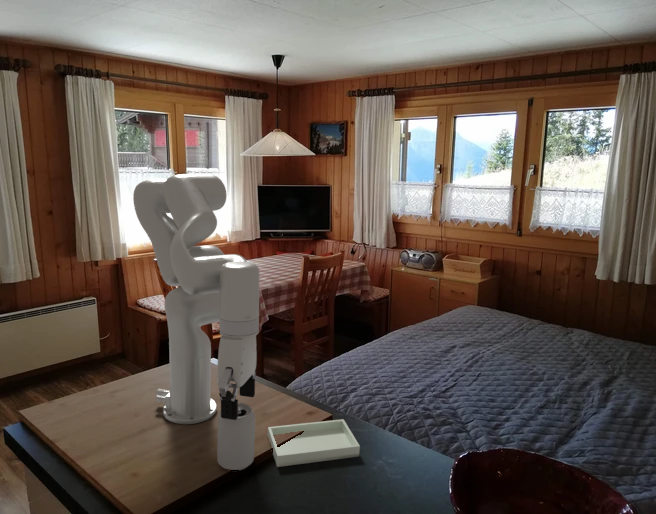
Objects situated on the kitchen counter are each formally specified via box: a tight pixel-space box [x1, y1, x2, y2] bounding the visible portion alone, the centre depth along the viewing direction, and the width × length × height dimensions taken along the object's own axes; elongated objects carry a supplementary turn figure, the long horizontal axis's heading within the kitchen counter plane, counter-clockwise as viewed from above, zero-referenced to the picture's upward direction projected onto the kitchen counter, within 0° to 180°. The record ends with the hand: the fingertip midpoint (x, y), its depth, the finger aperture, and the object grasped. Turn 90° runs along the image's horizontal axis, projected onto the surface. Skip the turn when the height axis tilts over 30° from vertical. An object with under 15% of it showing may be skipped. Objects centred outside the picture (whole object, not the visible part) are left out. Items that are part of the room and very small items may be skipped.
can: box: [216, 402, 256, 471], centre depth 104 cm, size 8×8×12 cm
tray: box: [267, 418, 361, 468], centre depth 112 cm, size 18×11×2 cm, turn 107°
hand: (238, 406), depth 102 cm, fingers open, 9 cm apart
